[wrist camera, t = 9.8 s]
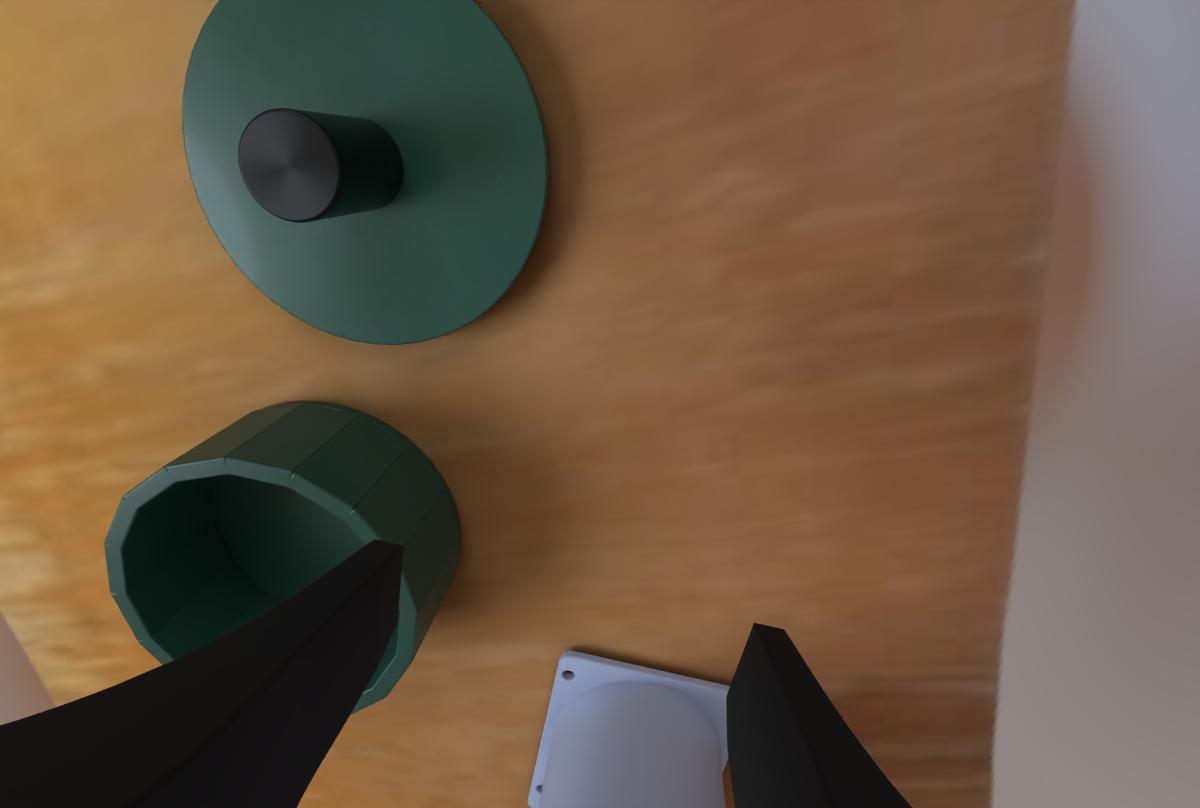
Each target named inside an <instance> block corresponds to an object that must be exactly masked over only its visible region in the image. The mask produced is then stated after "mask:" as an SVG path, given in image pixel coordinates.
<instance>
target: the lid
mask: <svg viewBox="0 0 1200 808" xmlns="http://www.w3.org/2000/svg"><path fill="white" fill-rule="evenodd" d="M183 135H184V144H185V153H186V157H187V162H188V166H189V171H190V175H191V179H192V182H193V185H194V188H195V191H196V193H197V196H198V199H199V202H200V204H201V207H202V209H203V211H204V213H205V215H206V217H207V220H208V222H209V224H210V226H211V228H212V229H213V231H214V233H215V234H216V236H217V238H218V239H219V241H220V243H221V244H222V246H223V248H224V249H225V250H226V252H227V253H228V254H229V256H230V257H231V258H232V260H233V261H234V262H235V264H236V265H237V266H238V268H239V269H240V270H241V271H242V272H243V273H244V274H245V275H246V276H247V278H248V279H249V280H250V281H251V282H252V283H253V284H254V285H255V286H256V287H257V288H258V289H259V290H260V291H262V292H263V293H264V294H265V295H266V296H267V297H268V298H270V299H271V300H272V301H273V302H274V303H276V304H277V305H279V306H280V307H281V308H283V309H284V310H286V311H287V312H288V313H290V314H291V315H293V316H295V317H296V318H298V319H300V320H302V321H304V322H305V323H307V324H309V325H311V326H313V327H315V328H318V329H320V330H322V331H325V332H327V333H330V334H332V335H335V336H339V337H342V338H346V339H349V340H353V341H358V342H364V343H371V344H384V345H400V344H410V343H418V342H422V341H426V340H430V339H435V338H438V337H441V336H443V335H446V334H448V333H451V332H453V331H456V330H458V329H460V328H461V327H463V326H465V325H467V324H468V323H470V322H472V321H474V320H475V319H477V318H478V317H479V316H480V315H482V314H483V313H484V312H485V311H487V310H488V309H489V308H491V307H492V306H493V305H494V304H495V303H496V302H497V301H498V300H499V299H500V298H501V297H502V296H503V295H504V294H505V293H506V292H507V291H508V290H509V289H510V287H511V286H512V285H513V283H514V282H515V280H516V279H517V278H518V276H519V275H520V273H521V272H522V271H523V269H524V267H525V265H526V263H527V261H528V259H529V257H530V255H531V254H532V252H533V250H534V247H535V244H536V242H537V239H538V236H539V233H540V231H541V228H542V224H543V219H544V215H545V210H546V206H547V198H548V187H549V151H548V145H547V138H546V131H545V125H544V121H543V117H542V114H541V110H540V106H539V103H538V99H537V96H536V94H535V91H534V89H533V86H532V84H531V82H530V79H529V77H528V74H527V72H526V70H525V68H524V66H523V64H522V63H521V61H520V59H519V57H518V55H517V53H516V52H515V50H514V48H513V46H512V45H511V44H510V42H509V41H508V39H507V38H506V37H505V35H504V34H503V32H502V31H501V30H500V28H499V27H498V25H497V24H496V23H495V22H494V21H493V20H492V18H491V17H490V16H489V15H488V14H487V13H486V12H485V11H484V10H483V9H482V8H481V6H480V5H479V4H478V3H477V2H476V1H475V0H219V1H218V3H217V4H216V5H215V7H214V8H213V10H212V12H211V13H210V15H209V17H208V18H207V20H206V22H205V23H204V25H203V27H202V29H201V31H200V34H199V36H198V38H197V41H196V43H195V45H194V48H193V50H192V54H191V58H190V62H189V65H188V69H187V73H186V79H185V87H184V94H183Z"/></svg>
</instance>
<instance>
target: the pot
mask: <svg viewBox="0 0 1200 808" xmlns="http://www.w3.org/2000/svg"><path fill="white" fill-rule="evenodd" d="M374 539H376V540H381V541H385V542H390V543H394V544H399V545H403V546H404V552H403V564H402V575H401V587H400V598H399V610H398V621H397V625H396V628H395V630H394V632H393V635H392V637H391V639H390V641H389V644H388V646H387V648H386V651H385V653H384V655H383V657H382V659H381V661H380V664H379V666H378V668H377V670H376V672H375V674H374V675H373V677H372V679H371V680H370V682H369V684H368V686H367V687H366V689H365V691H364V692H363V694H362V696H361V697H360V699H359V701H358V702H357V704H356V706H355V708H354V709H353V711H352V713H351V714H353V713H355V712H357V711H359V710H361V709H363V708H365V707H367V706H369V705H371V704H374V703H376V702H378V701H380V700H382V699H384V698H385V697H386V696H387V695H388V694H389V693H390V691H391V690H392V689H393V687H394V686H395V685H396V683H397V682H398V680H399V679H400V678H401V676H402V675H403V674H404V672H405V671H406V670H407V668H408V667H409V665H410V664H411V663H412V661H413V659H414V657H415V655H416V653H417V651H418V649H419V647H420V645H421V643H422V641H423V639H424V637H425V635H426V633H427V631H428V629H429V627H430V625H431V623H432V621H433V619H434V617H435V615H436V613H437V611H438V609H439V607H440V605H441V603H442V601H443V599H444V597H445V595H446V593H447V591H448V589H449V587H450V585H451V583H452V581H453V578H454V573H455V568H456V566H457V562H458V557H459V553H460V540H461V535H460V525H459V519H458V515H457V511H456V506H455V504H454V501H453V499H452V496H451V494H450V491H449V489H448V487H447V486H446V484H445V482H444V480H443V478H442V476H441V475H440V474H439V472H438V471H437V469H436V468H435V467H434V465H433V464H432V462H431V461H430V460H429V459H428V458H427V457H426V456H425V455H424V454H423V452H422V451H421V450H420V449H419V448H418V447H417V446H415V445H414V444H413V443H412V442H411V441H410V440H409V439H407V438H406V437H405V436H404V435H402V434H401V433H400V432H398V431H397V430H395V429H394V428H392V427H391V426H389V425H388V424H386V423H384V422H382V421H380V420H378V419H377V418H375V417H373V416H370V415H368V414H366V413H363V412H361V411H358V410H356V409H352V408H349V407H345V406H342V405H338V404H332V403H326V402H318V401H296V402H285V403H281V404H277V405H273V406H269V407H266V408H264V409H261V410H256V411H253V412H251V413H249V414H247V415H246V416H244V417H243V418H241V419H239V420H238V421H236V422H235V423H233V424H231V425H230V426H228V427H226V428H225V429H223V430H222V431H220V432H218V433H217V434H215V435H214V436H212V437H210V438H209V439H207V440H205V441H204V442H202V443H201V444H199V445H197V446H196V447H194V448H193V449H191V450H189V451H188V452H186V453H185V454H183V455H181V456H180V457H178V458H176V459H175V460H173V461H172V462H170V463H168V464H167V465H165V466H164V467H162V468H161V469H159V470H158V471H157V472H155V473H154V474H153V475H151V476H150V477H148V478H147V479H146V480H144V481H143V482H142V483H140V484H139V485H137V486H136V487H135V488H133V489H132V490H131V491H129V492H128V493H126V494H125V495H124V497H123V498H122V500H121V502H120V504H119V507H118V509H117V512H116V514H115V517H114V519H113V522H112V524H111V527H110V529H109V532H108V534H107V537H106V539H105V543H104V546H105V554H106V562H107V570H108V578H109V586H110V592H111V593H112V596H113V598H114V600H115V601H116V603H117V605H118V607H119V609H120V610H121V612H122V614H123V616H124V617H125V619H126V621H127V623H128V624H129V626H130V628H131V630H132V631H133V633H134V635H135V637H136V639H137V640H138V641H139V643H140V644H141V645H142V646H143V647H144V648H145V649H146V650H147V651H148V652H149V653H151V654H152V655H153V656H154V657H155V658H156V659H157V660H158V661H159V662H160V663H161V664H162V665H164V664H166V663H169V662H171V661H173V660H176V659H178V658H180V657H182V656H184V655H186V654H188V653H190V652H192V651H194V650H196V649H199V648H201V647H203V646H205V645H207V644H209V643H211V642H213V641H214V640H216V639H218V638H220V637H222V636H224V635H226V634H228V633H229V632H231V631H233V630H235V629H237V628H238V627H240V626H242V625H244V624H245V623H247V622H249V621H250V620H252V619H254V618H255V617H257V616H259V615H260V614H262V613H264V612H265V611H267V610H269V609H271V608H272V607H274V606H276V605H277V604H279V603H280V602H282V601H284V600H285V599H287V598H288V597H290V596H291V595H293V594H295V593H296V592H298V591H299V590H301V589H302V588H304V587H305V586H307V585H308V584H310V583H311V582H313V581H314V580H316V579H317V578H319V577H320V576H322V575H323V574H325V573H326V572H328V571H329V570H330V569H332V568H333V567H335V566H336V565H338V564H339V563H341V562H342V561H343V560H345V559H346V558H348V557H349V556H350V555H352V554H353V553H355V552H356V551H358V550H359V549H360V548H362V547H363V546H365V545H366V544H368V543H369V542H371V541H373V540H374ZM351 714H350V715H351Z"/></svg>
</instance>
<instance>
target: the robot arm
mask: <svg viewBox="0 0 1200 808" xmlns="http://www.w3.org/2000/svg"><path fill="white" fill-rule="evenodd" d="M403 552H404V546H403V545H399V544H394V543H390V542H385V541H381V540H376V539H374V540H373V541H371V542H369V543H368V544H366V545H365V546H363V547H362V548H360V549H359V550H358V551H356V552H355V553H353V554H352V555H350V556H349V557H348V558H346V559H345V560H343V561H342V562H341V563H339V564H338V565H336V566H335V567H333V568H332V569H330V570H329V571H328V572H326V573H325V574H323V575H322V576H320V577H319V578H317V579H316V580H314V581H313V582H311V583H310V584H308V585H307V586H305V587H304V588H302V589H301V590H299V591H298V592H296V593H295V594H293V595H291V596H290V597H288V598H287V599H285V600H284V601H282V602H280V603H279V604H277V605H276V606H274V607H272V608H271V609H269V610H267V611H265V612H264V613H262V614H260V615H259V616H257V617H255V618H254V619H252V620H250V621H249V622H247V623H245V624H244V625H242V626H240V627H238V628H237V629H235V630H233V631H231V632H229V633H228V634H226V635H224V636H222V637H220V638H218V639H216V640H214V641H213V642H211V643H209V644H207V645H205V646H203V647H201V648H199V649H196V650H194V651H192V652H190V653H188V654H186V655H184V656H182V657H180V658H178V659H176V660H173V661H171V662H169V663H166V664H164V665H162V666H160V667H157V668H155V669H153V670H150V671H148V672H146V673H143V674H141V675H139V676H136V677H134V678H132V679H129V680H127V681H125V682H122V683H120V684H118V685H115V686H113V687H110V688H107V689H105V690H102V691H100V692H97V693H94V694H92V695H89V696H86V697H84V698H81V699H78V700H76V701H73V702H70V703H67V704H64V705H61V706H58V707H56V708H53V709H50V710H47V711H44V712H41V713H38V714H35V715H32V716H30V717H26V718H23V719H20V720H17V721H13V722H10V723H7V724H3V725H0V808H297V806H298V804H299V802H300V800H301V798H302V796H303V794H304V792H305V791H306V789H307V787H308V785H309V783H310V782H311V780H312V778H313V776H314V774H315V773H316V771H317V769H318V768H319V766H320V764H321V763H322V761H323V759H324V758H325V756H326V754H327V753H328V751H329V749H330V748H331V746H332V744H333V743H334V741H335V739H336V738H337V736H338V734H339V733H340V731H341V729H342V728H343V726H344V724H345V723H346V721H347V719H348V718H349V716H350V714H351V713H352V711H353V709H354V708H355V706H356V704H357V702H358V701H359V699H360V697H361V696H362V694H363V692H364V691H365V689H366V687H367V686H368V684H369V682H370V680H371V679H372V677H373V675H374V674H375V672H376V670H377V668H378V666H379V664H380V661H381V659H382V657H383V655H384V653H385V651H386V648H387V646H388V644H389V641H390V639H391V637H392V635H393V632H394V630H395V628H396V625H397V621H398V610H399V598H400V587H401V575H402V564H403ZM566 670H569V671H572V672H573V673H568V672H566ZM728 758H729V765H730V772H731V780H732V787H733V794H734V801H735V808H912V807H911V806H910V805H909V804H908V802H907V801H906V800H905V799H904V798H903V797H902V796H901V794H900V793H899V792H898V791H897V790H896V788H895V787H894V786H893V785H892V784H891V782H890V781H889V780H888V779H887V777H886V776H885V775H884V774H883V772H882V771H881V770H880V769H879V767H878V766H877V765H876V763H875V762H874V761H873V759H872V758H871V757H870V755H869V754H868V753H867V751H866V750H865V749H864V748H863V746H862V745H861V744H860V742H859V741H858V740H857V738H856V737H855V735H854V734H853V733H852V731H851V730H850V728H849V727H848V726H847V724H846V723H845V721H844V720H843V719H842V717H841V716H840V714H839V713H838V711H837V710H836V708H835V707H834V705H833V704H832V703H831V701H830V700H829V698H828V697H827V695H826V694H825V692H824V691H823V689H822V688H821V686H820V685H819V683H818V681H817V680H816V678H815V677H814V675H813V674H812V672H811V671H810V669H809V668H808V666H807V664H806V663H805V661H804V660H803V658H802V657H801V655H800V653H799V652H798V650H797V649H796V647H795V646H794V644H793V642H792V641H791V639H790V638H789V636H788V635H787V633H786V632H785V630H784V629H780V628H775V627H771V626H766V625H762V624H757V623H754V625H753V627H752V630H751V632H750V635H749V638H748V640H747V643H746V646H745V648H744V651H743V654H742V656H741V659H740V662H739V664H738V667H737V670H736V672H735V675H734V677H733V680H732V683H731V685H730V686H727V685H723V684H718V683H714V682H709V681H705V680H701V679H696V678H692V677H687V676H683V675H678V674H674V673H670V672H665V671H661V670H656V669H652V668H647V667H643V666H638V665H634V664H630V663H625V662H621V661H616V660H612V659H607V658H603V657H598V656H594V655H590V654H585V653H581V652H576V651H566V652H564V653H562V654H561V656H560V659H559V664H558V668H557V673H556V677H555V682H554V686H553V690H552V695H551V699H550V704H549V708H548V713H547V717H546V722H545V726H544V730H543V735H542V739H541V744H540V748H539V753H538V757H537V761H536V766H535V770H534V775H533V779H532V784H531V788H530V793H529V797H528V804H529V806H530V807H531V808H726V806H725V796H724V786H723V775H722V773H723V770H724V768H725V765H726V763H727V760H728Z"/></svg>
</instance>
